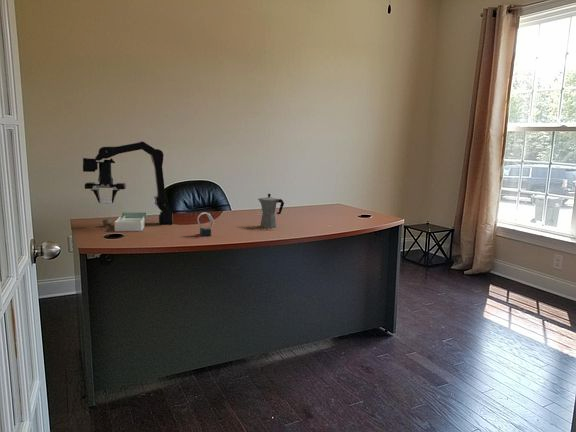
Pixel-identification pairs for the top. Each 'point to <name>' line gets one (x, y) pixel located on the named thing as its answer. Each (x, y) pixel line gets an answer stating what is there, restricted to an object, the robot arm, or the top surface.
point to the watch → (207, 230)
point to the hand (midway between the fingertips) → (106, 202)
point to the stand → (106, 222)
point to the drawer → (133, 216)
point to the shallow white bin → (129, 225)
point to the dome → (106, 201)
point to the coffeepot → (269, 211)
